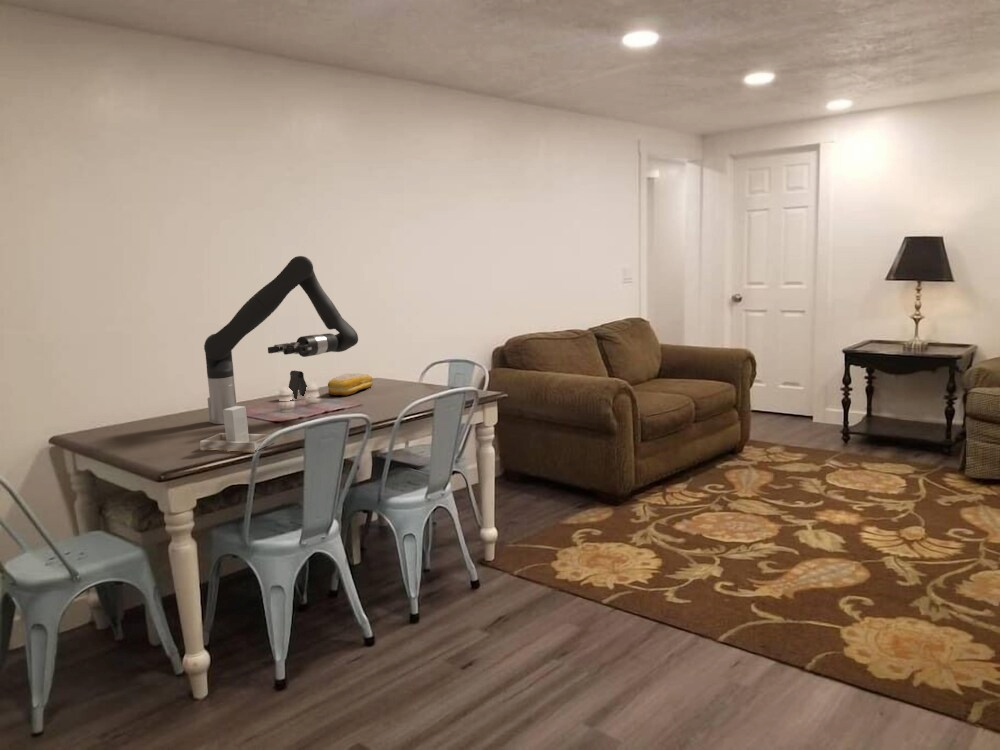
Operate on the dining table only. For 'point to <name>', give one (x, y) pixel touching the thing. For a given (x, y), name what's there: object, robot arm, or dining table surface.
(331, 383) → the bread
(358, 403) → the dining table surface
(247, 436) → the skincare box
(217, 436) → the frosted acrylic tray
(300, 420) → the dining table surface
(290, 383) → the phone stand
